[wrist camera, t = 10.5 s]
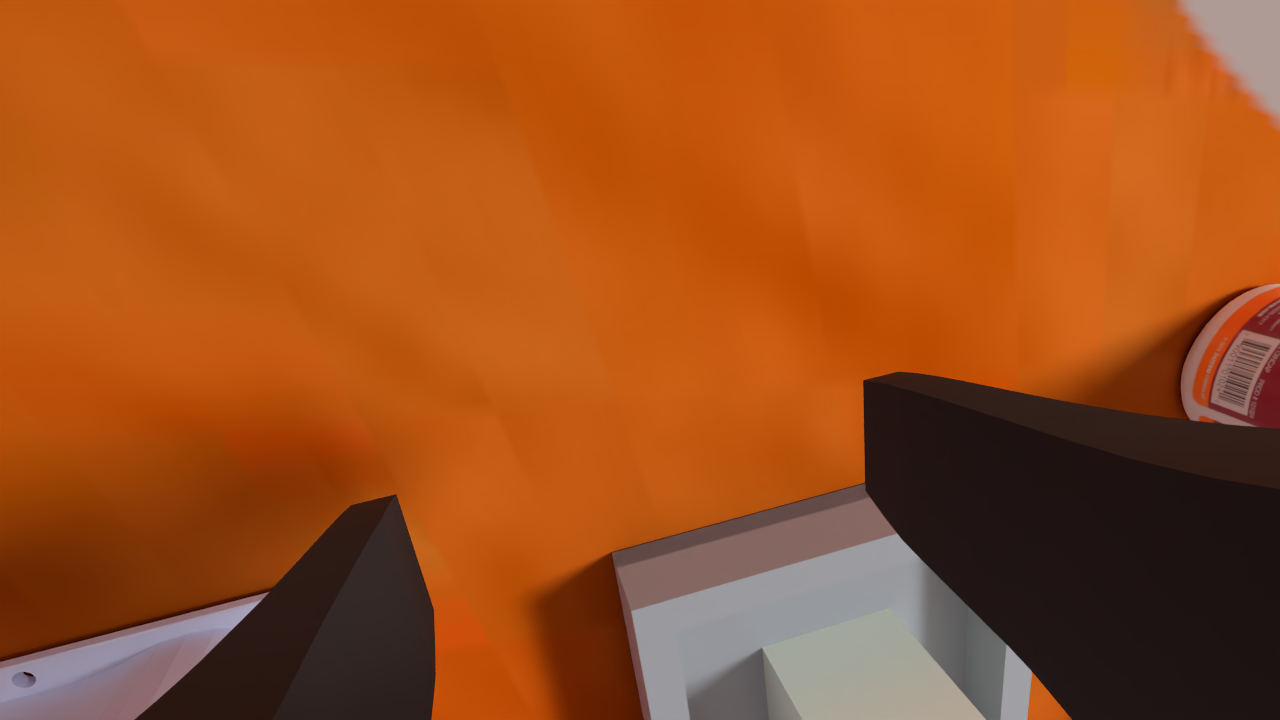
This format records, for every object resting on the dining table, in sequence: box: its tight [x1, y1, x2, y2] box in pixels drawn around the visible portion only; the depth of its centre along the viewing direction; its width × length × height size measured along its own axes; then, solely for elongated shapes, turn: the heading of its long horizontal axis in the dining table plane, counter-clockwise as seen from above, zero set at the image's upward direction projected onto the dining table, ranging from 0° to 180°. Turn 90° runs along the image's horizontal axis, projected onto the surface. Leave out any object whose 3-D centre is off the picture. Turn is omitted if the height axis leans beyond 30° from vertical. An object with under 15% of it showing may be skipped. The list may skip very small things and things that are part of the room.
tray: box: [612, 484, 1032, 720], centre depth 24 cm, size 14×16×3 cm
